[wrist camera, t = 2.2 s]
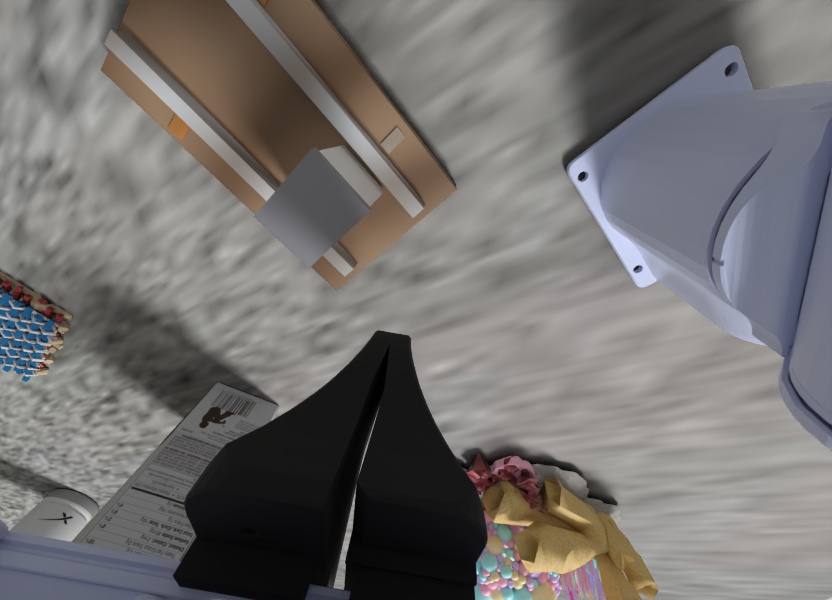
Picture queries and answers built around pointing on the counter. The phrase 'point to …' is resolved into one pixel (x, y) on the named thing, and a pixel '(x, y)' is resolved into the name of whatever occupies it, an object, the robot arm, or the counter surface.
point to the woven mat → (28, 329)
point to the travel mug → (58, 515)
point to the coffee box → (174, 477)
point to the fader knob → (319, 202)
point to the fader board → (275, 108)
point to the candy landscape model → (551, 537)
